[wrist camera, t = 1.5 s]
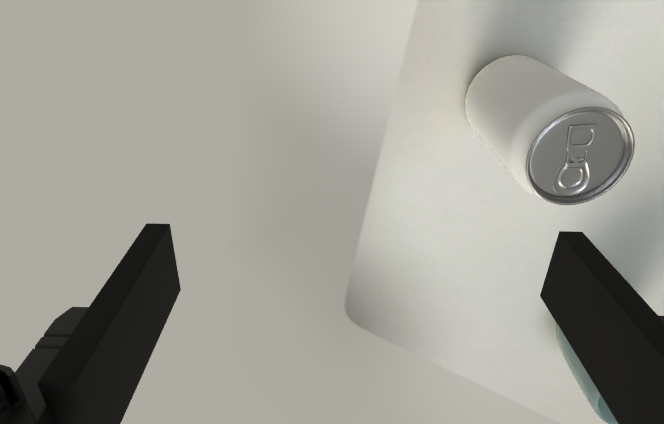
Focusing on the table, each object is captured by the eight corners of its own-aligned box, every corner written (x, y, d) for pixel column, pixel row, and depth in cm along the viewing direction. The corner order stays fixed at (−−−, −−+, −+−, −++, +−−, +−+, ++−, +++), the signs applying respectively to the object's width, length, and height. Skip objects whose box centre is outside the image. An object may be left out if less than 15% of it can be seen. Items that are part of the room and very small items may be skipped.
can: (459, 140, 37) (510, 214, 27) (466, 56, 34) (527, 102, 23) (542, 136, 37) (626, 209, 26) (557, 50, 34) (658, 95, 23)
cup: (528, 317, 46) (574, 403, 37) (595, 266, 43) (662, 347, 34) (577, 353, 48) (631, 442, 40) (643, 308, 45) (718, 393, 37)
